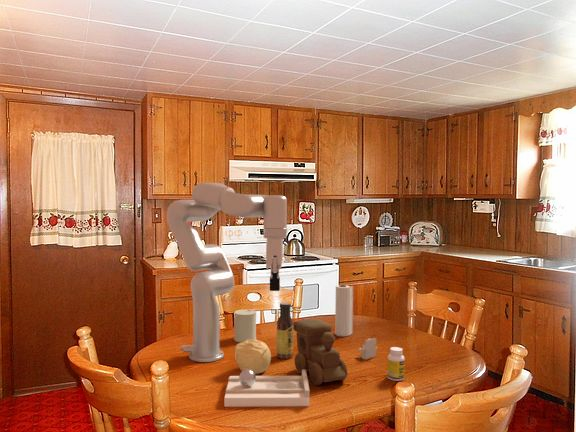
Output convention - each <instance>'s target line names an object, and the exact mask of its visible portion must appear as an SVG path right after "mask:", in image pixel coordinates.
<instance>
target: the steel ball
mask: <svg viewBox="0 0 576 432" xmlns="http://www.w3.org/2000/svg"><path fill="white" fill-rule="evenodd" d="M238 376H239V381H240V383H241V384H242V385H243V386H245V387H250V386H252V385H253V384H254V383H255V380H256V376H257V374H255V373H254V372H253V371H252V370H250V369H246V370H243V371H242V370H241V371H240V374H239V375H238Z"/></svg>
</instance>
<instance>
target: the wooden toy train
mask: <svg viewBox="0 0 576 432" xmlns="http://www.w3.org/2000/svg"><path fill="white" fill-rule="evenodd" d="M292 322H293V331H295V332H296V347H297V353H296V354H295V356H294V367H295V369H296V371H297V372H298V374H300V375H302V370H306V372H307V371H308V374H309V377H310V380H311V383H312V384H314V386H317V387H318V386H321V385H322V384H323V382H324V383H327V382H329V383H330V382H333V381H341V382H342V381H345V379H347V377H348V368H347V367H348V366H347V365H346V364H347V363H346V362H345V361H344V359H341V355H340V351H338V350H337V349H336V348H334V347H333V345H334V343H335V341H336V337H335V336H334V334H333V332H332V330H333V329H332V327H333V325H331V324H330V323H329V322H326V321H324V320H322V319H319V318H309V319H301V320H296V321H292Z"/></svg>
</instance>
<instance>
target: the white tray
mask: <svg viewBox="0 0 576 432" xmlns="http://www.w3.org/2000/svg"><path fill="white" fill-rule="evenodd" d="M239 376H240V375H230V376H229V377H228V382H227V385H226V388H225V395H224V401H223V402H224V406H223V407H227V408H228V407H229V408H230V407H233V408H234V407H238V408H239V407H241V408H243V407H246V408H247V407H249V408H250V407H310V393H311V392H310V386H309V379H308V375H307V371H306V370H302V374H301V375H256V380H255V383H254V384H253V385H252V386H250V387H245V386H243V385H242V384H241V383H240V381H239Z"/></svg>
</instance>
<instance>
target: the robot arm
mask: <svg viewBox="0 0 576 432" xmlns="http://www.w3.org/2000/svg"><path fill="white" fill-rule="evenodd" d="M191 195H192V196H191V197H192V199H179V200H175V201H173V202H171V203H170V204H169V206H168V207H167V211H166V221H167V226H168V228H169V230H170V232H171V234H172V235H173V237H174V239H175V241H176V242H177V246H178V248H179V250H180V253H181V256H182V259H183V261H184V263H185V265H186V267H187V269H188V270H190V271H193V272H196V271H201V272H198V273H196V274H195V275H194V276H192V279H191V280H190V285H189V286H190V292H191V297H192V307H193V310H192V311H193V313H192V314H193V320H192V321H193V322H192V323H193V328H192V329H193V330H192V331H193V334H192V335H193V343H192V344H189V345H186V344H183V345H181V351H182V352H183V353H188V352H189V354H188V358H189V360H191V361H193V362H198V363H210V362H215V361H219V360H221V359H222V358H224V354H225V353H224V351H223V350H221V349H220V311H221V310H220V305H219V303H218V301H217V300H216V296H221V295H225V294H228V293H231V292H232V291H233V290H234V288H235V286H236V285H235V281H236V280H235V276H234V273H233V271H232V269H231V266H230V264H229V261H228V259H227V256H226V254H225V252H224V250H223V249H222V248H221V247H220V246H219V245H217V244H215V243H214V244H213V243H209V244H204V243H203V241H202V239H201V237H200V234H199V233H198V231H197V230H196V229H195V228H194V227H193V225H191V224H190V223H189V222H192V223H193V222H205V221H208V220H210V219H211V218H213V216H214V215H216V214H217V213H218V212H219V211H222V212H223V213H224V214H227V215H230V216H234V217H238V218H263V239H266V242H265V243H266V244H265V247H266V248H265V255H266V256H265V268H266V269H267V270H269V269H270V277H269V291H270V292H279V291H280V289H281V285H280V284H281V277H280V270H281V269H282V265H283V249H284V246H283V244H284V239H287V238H288V237H287V236H288V234H287V230H288V229H287V226H288V225H287V224H288V223H287V222H288V219H287V217H288V211H287V210H288V202H287V201H288V200H287V197H286V196H284V195H275V194H274V195H271V194H270V195H268V194H250V193H249V194H245V193H237V192H235V189H233V187H230V186H227V185H226V184H224V183H221V182H205V181H204V182H199V183H197V184H196V185H195V186H193V188H192V192H191ZM205 270H207V271H205Z"/></svg>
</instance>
